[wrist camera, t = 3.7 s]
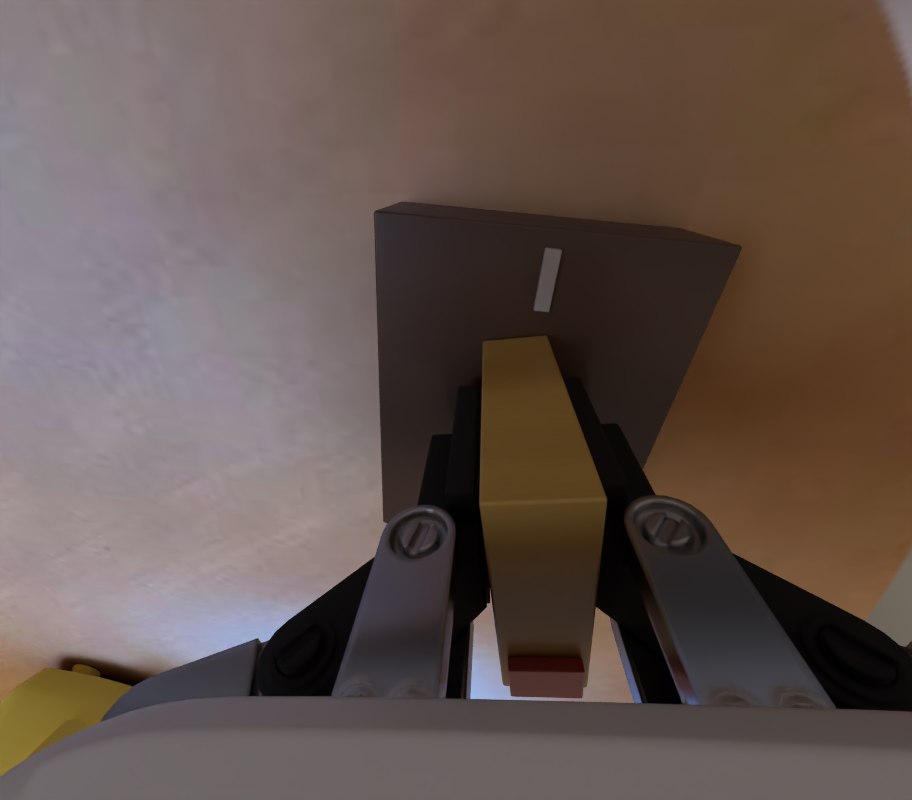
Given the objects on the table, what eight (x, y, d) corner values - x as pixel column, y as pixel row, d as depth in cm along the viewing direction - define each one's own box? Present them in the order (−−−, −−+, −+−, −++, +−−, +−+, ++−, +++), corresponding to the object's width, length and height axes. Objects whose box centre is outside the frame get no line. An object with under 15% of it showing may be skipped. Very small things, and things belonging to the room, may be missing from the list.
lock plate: (399, 201, 11) (371, 211, 8) (681, 228, 11) (748, 247, 8) (399, 466, 16) (381, 526, 13) (588, 487, 16) (609, 551, 13)
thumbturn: (482, 340, 10) (478, 519, 5) (547, 334, 9) (614, 514, 4) (496, 486, 12) (503, 701, 7) (547, 483, 12) (590, 704, 7)
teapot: (104, 725, 35) (-24, 909, 26) (-17, 655, 29) (-236, 867, 20) (228, 721, 32) (133, 925, 24) (126, 643, 26) (-55, 881, 17)
